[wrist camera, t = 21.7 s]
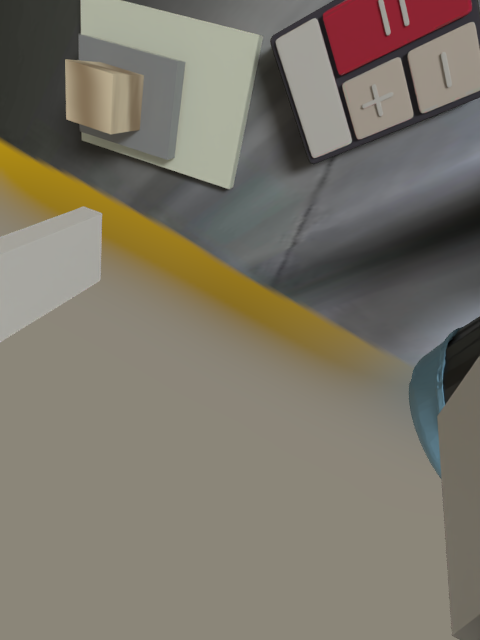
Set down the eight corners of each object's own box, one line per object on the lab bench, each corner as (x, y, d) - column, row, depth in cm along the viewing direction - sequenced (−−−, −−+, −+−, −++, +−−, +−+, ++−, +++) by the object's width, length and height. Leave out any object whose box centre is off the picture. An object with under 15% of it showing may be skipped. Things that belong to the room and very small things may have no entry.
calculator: (495, 91, 31) (308, 166, 37) (484, 92, 35) (315, 161, 41) (467, -80, 27) (265, 36, 34) (458, -60, 31) (277, 42, 37)
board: (263, 36, 37) (259, 34, 36) (233, 187, 45) (229, 189, 44) (88, -8, 41) (80, -10, 40) (88, 139, 49) (81, 140, 48)
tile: (177, 61, 38) (78, 33, 40) (167, 159, 43) (79, 131, 45) (187, 62, 40) (91, 35, 42) (176, 157, 45) (91, 129, 47)
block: (143, 75, 40) (113, 74, 36) (139, 129, 42) (110, 134, 38) (100, 62, 41) (65, 59, 37) (99, 116, 43) (66, 119, 39)
